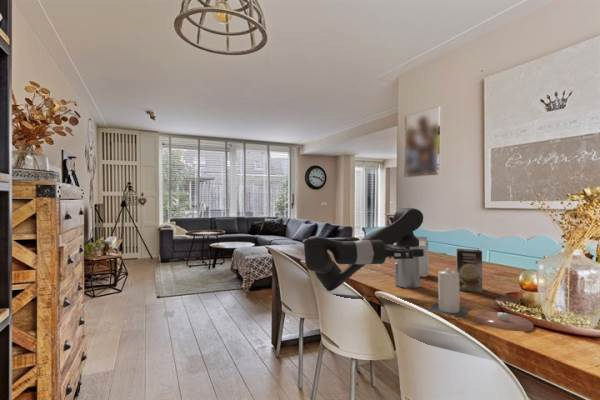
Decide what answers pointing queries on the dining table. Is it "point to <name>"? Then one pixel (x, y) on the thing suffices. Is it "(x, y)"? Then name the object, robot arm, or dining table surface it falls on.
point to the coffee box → (469, 269)
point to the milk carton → (425, 259)
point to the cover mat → (461, 313)
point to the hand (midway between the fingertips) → (415, 250)
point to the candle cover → (448, 291)
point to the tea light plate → (505, 321)
